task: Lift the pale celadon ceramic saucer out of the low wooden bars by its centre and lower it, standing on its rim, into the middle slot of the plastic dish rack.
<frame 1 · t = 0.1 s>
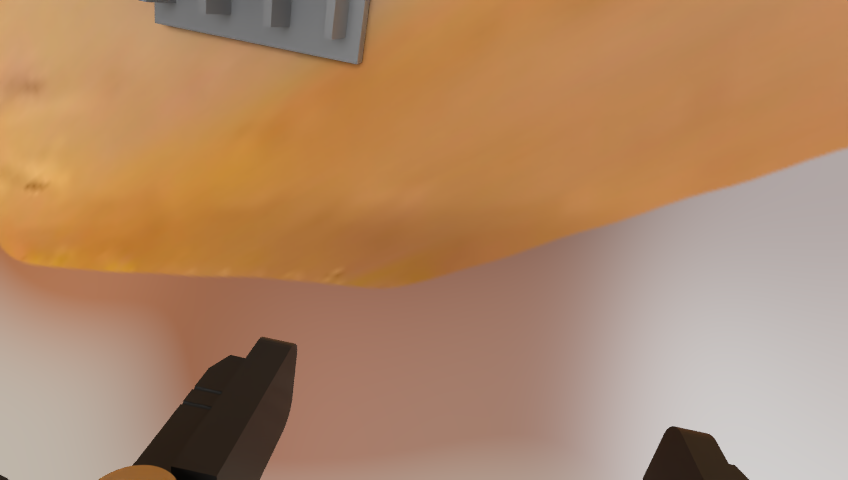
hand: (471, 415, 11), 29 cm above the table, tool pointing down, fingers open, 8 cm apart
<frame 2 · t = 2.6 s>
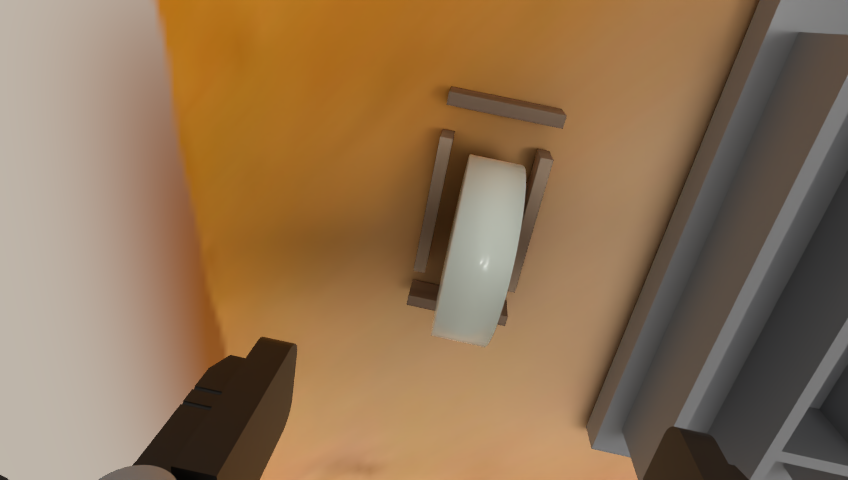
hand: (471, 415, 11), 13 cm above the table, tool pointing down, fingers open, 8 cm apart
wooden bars: (479, 206, 23), on the table
rack: (820, 278, 23), on the table
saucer: (475, 250, 20), point 3 cm above the table, tilted 9°
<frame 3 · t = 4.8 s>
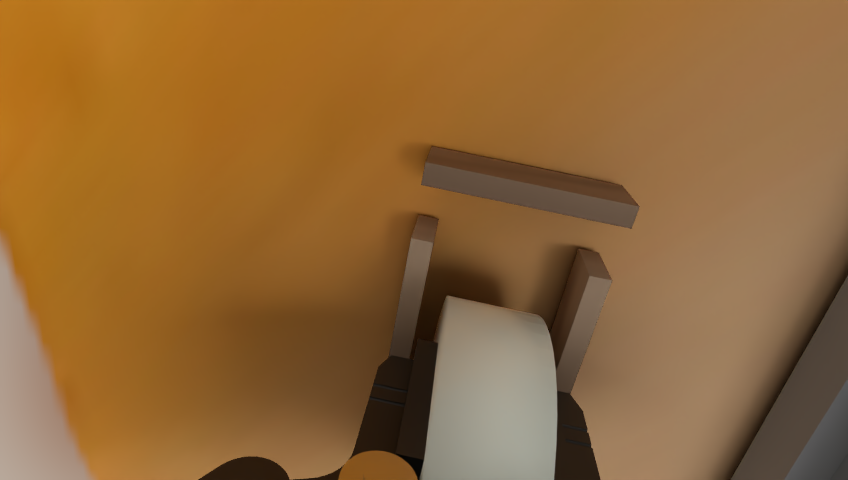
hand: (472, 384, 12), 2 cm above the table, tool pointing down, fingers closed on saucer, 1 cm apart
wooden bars: (481, 334, 14), on the table
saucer: (460, 464, 11), point 4 cm above the table, tilted 20°, touching gripper
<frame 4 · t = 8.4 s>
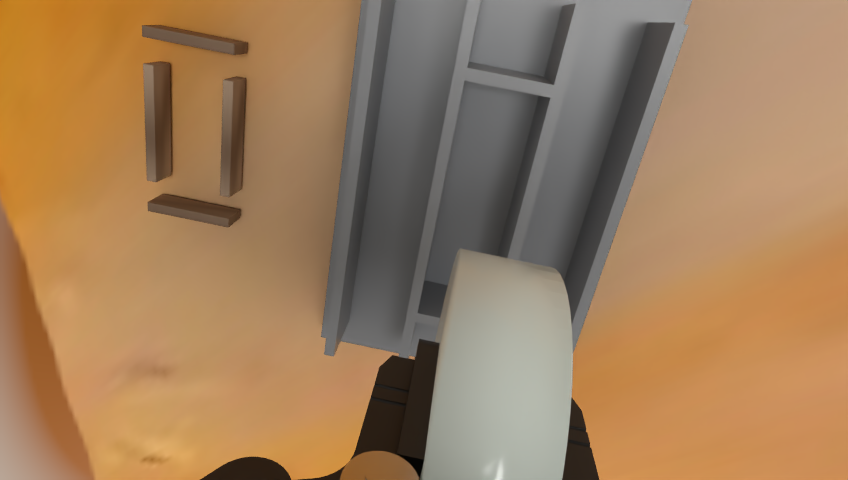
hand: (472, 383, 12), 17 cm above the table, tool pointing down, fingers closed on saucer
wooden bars: (202, 127, 28), on the table
rack: (478, 183, 28), on the table
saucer: (472, 418, 11), point 18 cm above the table, tilted 21°, touching gripper
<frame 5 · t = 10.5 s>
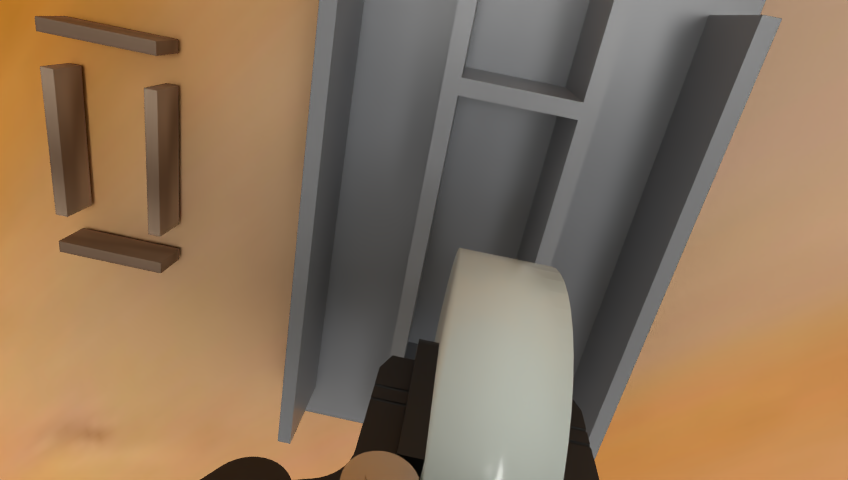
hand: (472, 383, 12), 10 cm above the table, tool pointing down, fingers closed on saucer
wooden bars: (126, 147, 22), on the table
rack: (476, 221, 22), on the table
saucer: (472, 418, 11), point 12 cm above the table, tilted 20°, touching gripper
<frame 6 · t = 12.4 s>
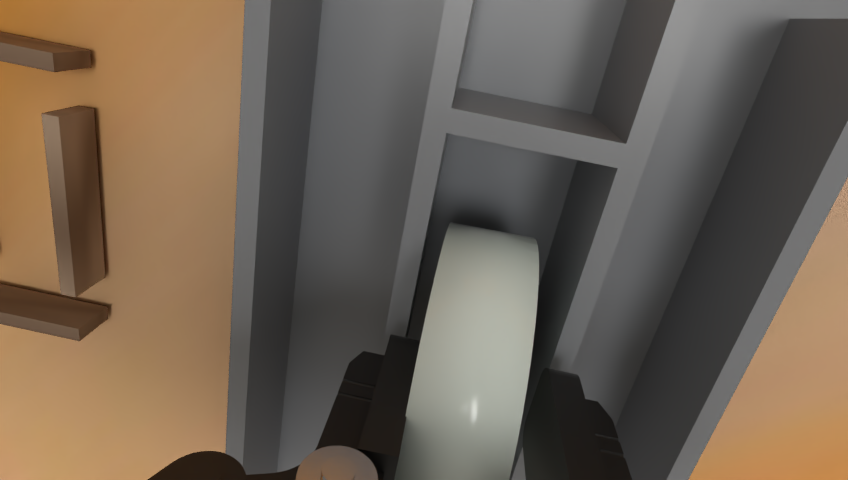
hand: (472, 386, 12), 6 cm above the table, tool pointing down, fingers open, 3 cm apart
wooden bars: (34, 184, 18), on the table
rack: (474, 277, 17), on the table
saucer: (464, 372, 13), point 5 cm above the table, tilted 18°, touching gripper, rack
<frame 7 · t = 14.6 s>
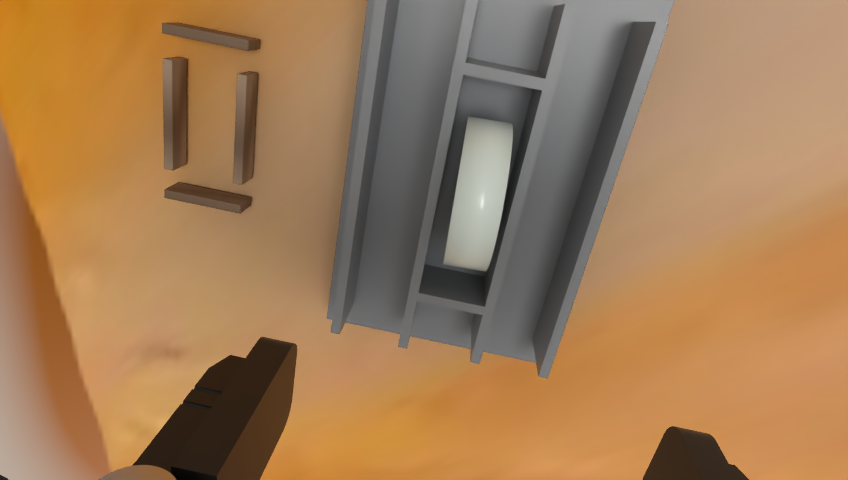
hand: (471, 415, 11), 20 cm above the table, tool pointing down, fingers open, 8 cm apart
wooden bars: (216, 119, 30), on the table
rack: (475, 172, 30), on the table
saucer: (476, 194, 25), point 5 cm above the table, tilted 12°, touching rack
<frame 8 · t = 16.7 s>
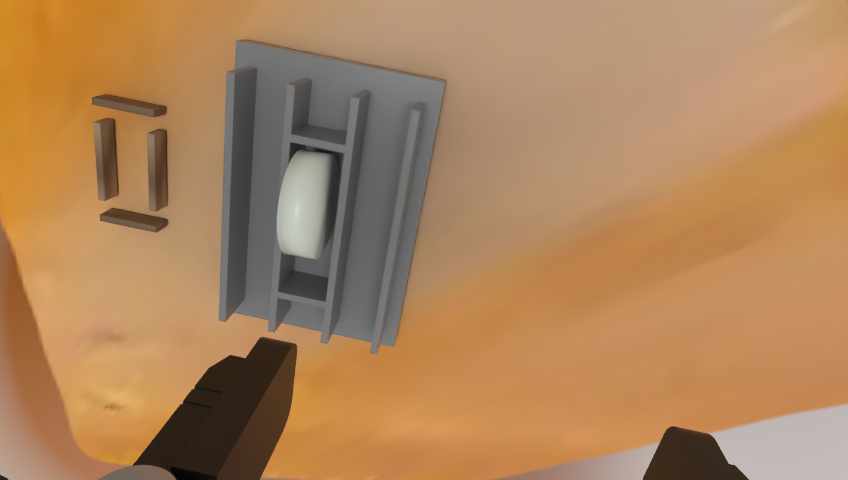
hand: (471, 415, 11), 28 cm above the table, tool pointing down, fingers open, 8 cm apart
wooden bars: (137, 163, 40), on the table
rack: (328, 203, 40), on the table
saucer: (310, 204, 35), point 5 cm above the table, tilted 9°, touching rack
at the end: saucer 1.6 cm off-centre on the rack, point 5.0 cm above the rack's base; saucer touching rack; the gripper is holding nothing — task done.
